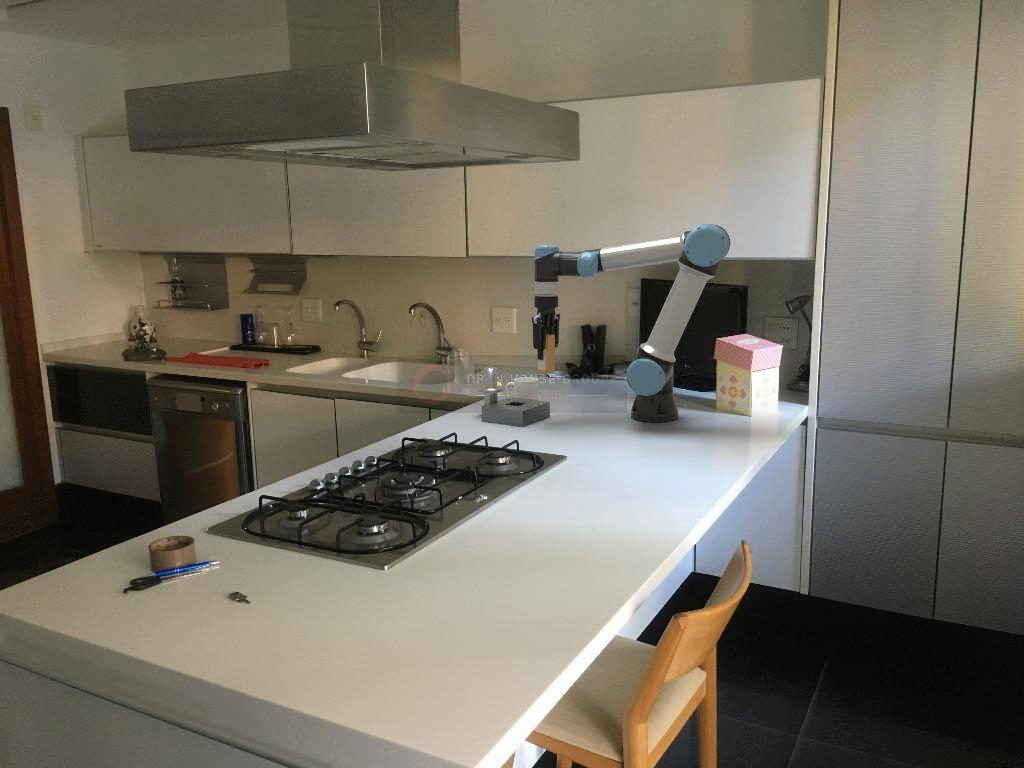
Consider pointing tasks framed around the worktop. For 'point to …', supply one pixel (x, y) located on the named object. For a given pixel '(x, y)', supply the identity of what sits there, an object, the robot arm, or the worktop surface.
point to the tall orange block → (549, 354)
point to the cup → (524, 388)
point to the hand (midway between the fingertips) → (545, 368)
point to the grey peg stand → (509, 405)
